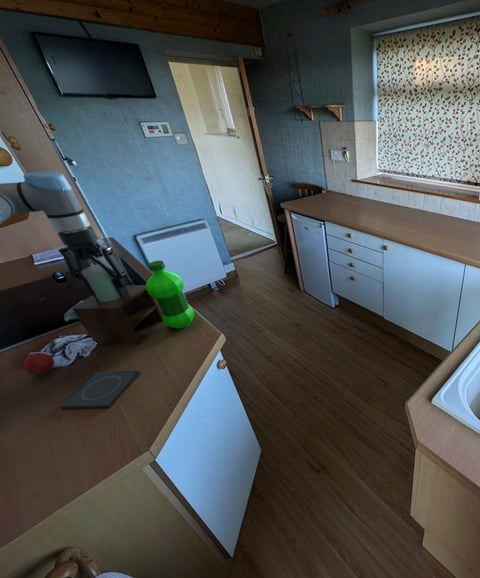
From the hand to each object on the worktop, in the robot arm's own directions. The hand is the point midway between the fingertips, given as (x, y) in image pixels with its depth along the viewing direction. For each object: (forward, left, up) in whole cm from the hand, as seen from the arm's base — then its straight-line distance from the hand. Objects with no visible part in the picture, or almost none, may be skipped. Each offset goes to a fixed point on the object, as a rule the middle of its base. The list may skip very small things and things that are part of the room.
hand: (111, 295), depth 96 cm
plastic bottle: (+15, +4, -15) cm, 22 cm away
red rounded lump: (-12, -19, -15) cm, 27 cm away
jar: (0, 0, 0) cm, 0 cm away
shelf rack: (0, 0, -15) cm, 15 cm away
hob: (+10, -26, -15) cm, 32 cm away
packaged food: (-23, +11, -15) cm, 30 cm away
